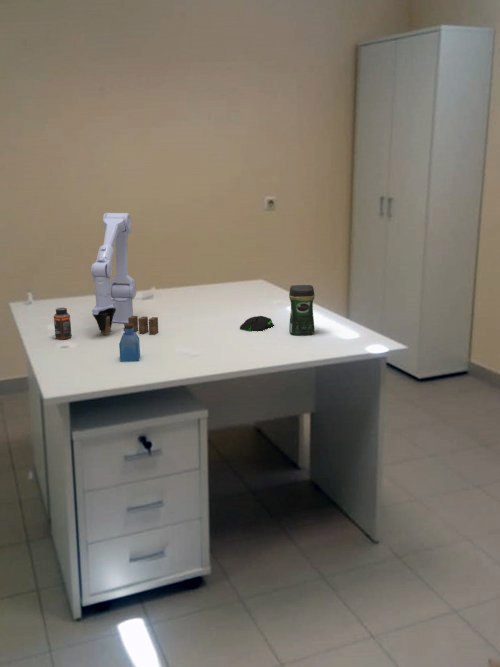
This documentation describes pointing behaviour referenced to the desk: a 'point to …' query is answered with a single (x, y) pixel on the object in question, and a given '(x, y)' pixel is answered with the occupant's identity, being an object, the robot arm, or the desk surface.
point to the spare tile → (107, 326)
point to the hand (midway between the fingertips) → (105, 328)
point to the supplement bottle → (62, 324)
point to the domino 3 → (153, 325)
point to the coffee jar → (301, 310)
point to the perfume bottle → (129, 344)
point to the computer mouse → (257, 324)
